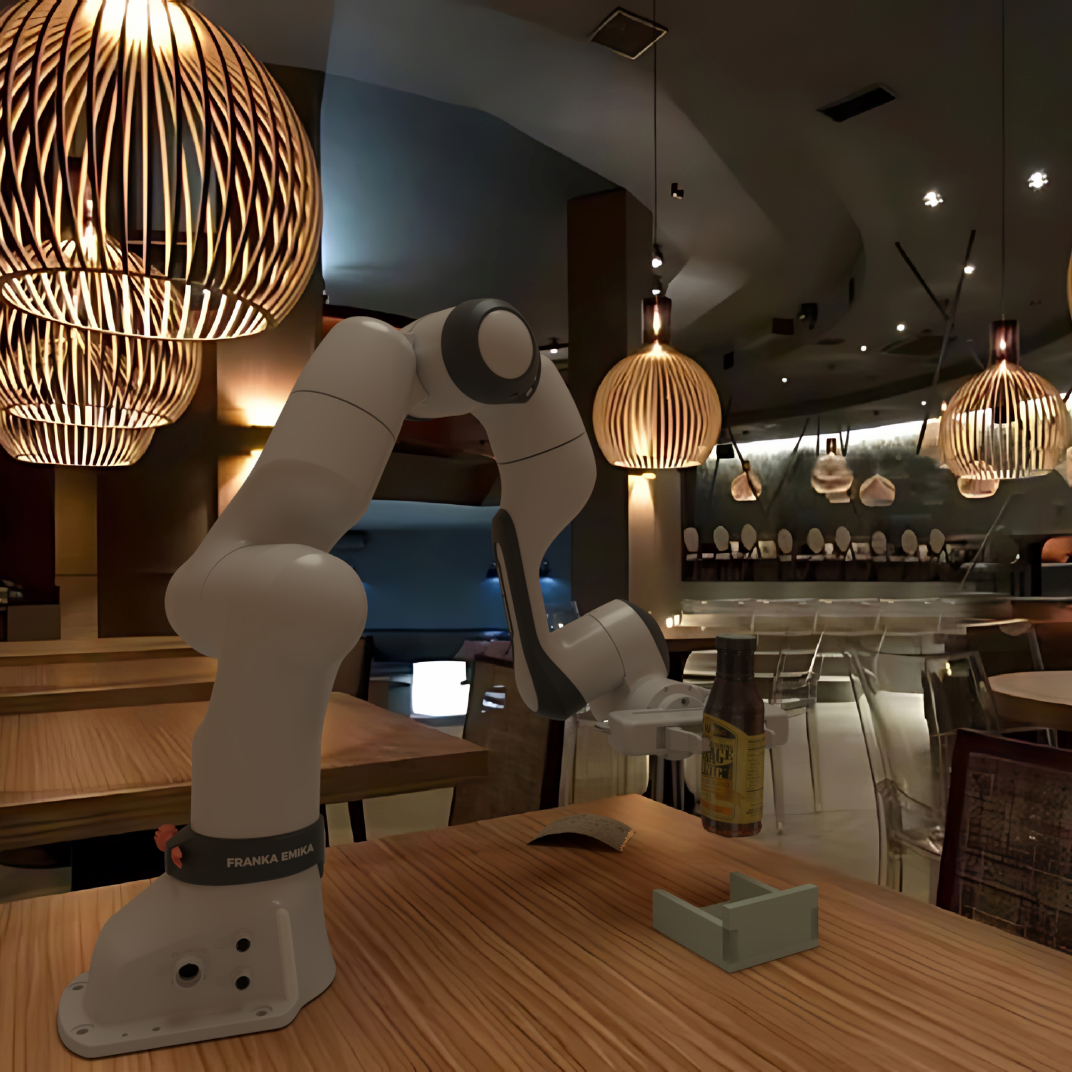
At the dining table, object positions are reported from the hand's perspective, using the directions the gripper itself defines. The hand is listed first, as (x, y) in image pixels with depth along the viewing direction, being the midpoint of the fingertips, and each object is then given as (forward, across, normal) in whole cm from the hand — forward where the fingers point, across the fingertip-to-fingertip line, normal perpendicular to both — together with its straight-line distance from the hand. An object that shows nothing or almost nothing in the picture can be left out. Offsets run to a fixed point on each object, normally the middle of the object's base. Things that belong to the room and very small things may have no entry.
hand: (737, 743), depth 87 cm
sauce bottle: (-1, 0, +9) cm, 9 cm away
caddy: (-1, 0, +20) cm, 20 cm away
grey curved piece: (-35, -2, +20) cm, 41 cm away
